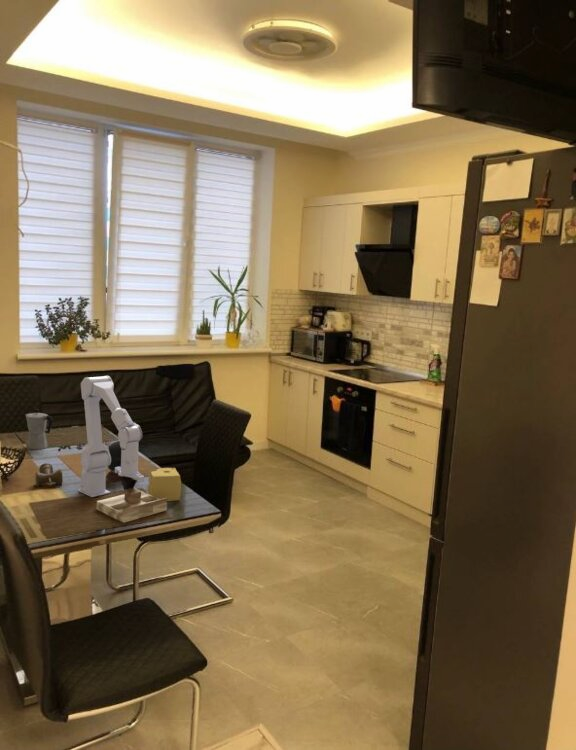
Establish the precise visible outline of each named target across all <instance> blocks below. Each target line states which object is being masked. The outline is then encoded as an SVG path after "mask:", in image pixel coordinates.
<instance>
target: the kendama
mask: <svg viewBox="0 0 576 750" xmlns="http://www.w3.org/2000/svg"><path fill="white" fill-rule="evenodd" d="M53 469H54V468H53V465H52V464H51V463H49V462H44V463H43V464H41V465H40V466H39V470H38V471H36V472H35V475H34V476H35V477H34V478H35V486H36V487H37V488H38V486H39V487H42V485H44V484H47V483H49V484H52V483H55V484H57V485H59V486H62V485H63V482H64V481H63V479H64V477H63V470H62V469H57V470H56V471H55V472H54V470H53Z"/></svg>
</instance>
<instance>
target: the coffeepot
mask: <svg viewBox="0 0 576 750" xmlns="http://www.w3.org/2000/svg"><path fill="white" fill-rule="evenodd" d="M25 419H26V424H27V425H26V426H27V430H28V435H27V441H26V445H25V447H26V449H27V450H35V451H36V450H44V449H46V448H48V441H47V440H48V439H47V434H49V433H50V432H51V429H52V427H53V422H54V419H53V418H52V416H51V415H48V414H46V413H43V412H42V413H41V412H40V409H39V408H35V412H32V413H30V412H29V413H26V414H25ZM47 422H48V423H47ZM47 424H48V426H47ZM46 429H47V430H46Z"/></svg>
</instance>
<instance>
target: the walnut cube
mask: <svg viewBox="0 0 576 750" xmlns="http://www.w3.org/2000/svg"><path fill="white" fill-rule="evenodd" d="M141 491H142V490H140V489H138V488H137V487H135V486H134V488H130V489H126V490H125V492H124V494H125V497H124V500H125V501H126V502H128V503H129V504H135V503H139V502H140V501H141Z"/></svg>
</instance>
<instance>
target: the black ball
mask: <svg viewBox="0 0 576 750" xmlns="http://www.w3.org/2000/svg"><path fill="white" fill-rule="evenodd" d="M107 447H108V448H109V453H110V456H111V463H110V465H109V466H108V469H109V470H110V471H108V473H106V480H109V481H112V482H121V481H120V478H122V477H123V476H119V475H118V473H115V467H119V466H120V467H121V447H120V441H119V440H117V441H115V442H112V443H111V444H110V445H108V446H107Z"/></svg>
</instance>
